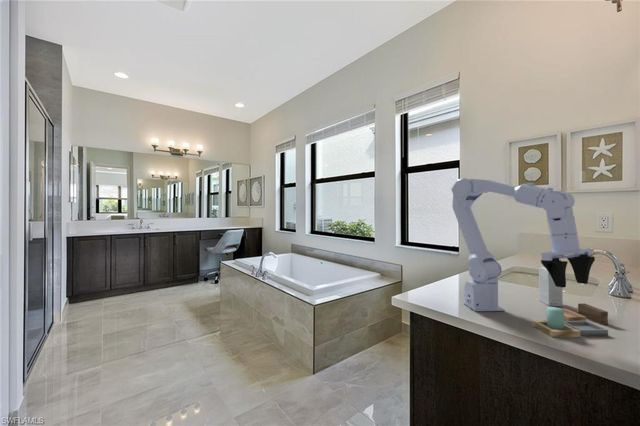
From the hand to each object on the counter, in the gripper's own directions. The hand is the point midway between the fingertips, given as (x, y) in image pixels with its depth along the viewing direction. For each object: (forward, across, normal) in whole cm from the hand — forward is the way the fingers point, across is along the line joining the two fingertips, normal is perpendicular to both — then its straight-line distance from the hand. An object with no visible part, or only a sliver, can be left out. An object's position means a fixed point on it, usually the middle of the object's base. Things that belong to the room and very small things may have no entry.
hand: (571, 285), depth 75 cm
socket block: (+12, -5, +3) cm, 13 cm away
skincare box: (+11, +16, +20) cm, 28 cm away
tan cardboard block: (+12, +6, +8) cm, 16 cm away
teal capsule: (+12, -5, +3) cm, 13 cm away
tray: (+12, +2, +1) cm, 13 cm away
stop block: (+12, +14, +6) cm, 19 cm away
